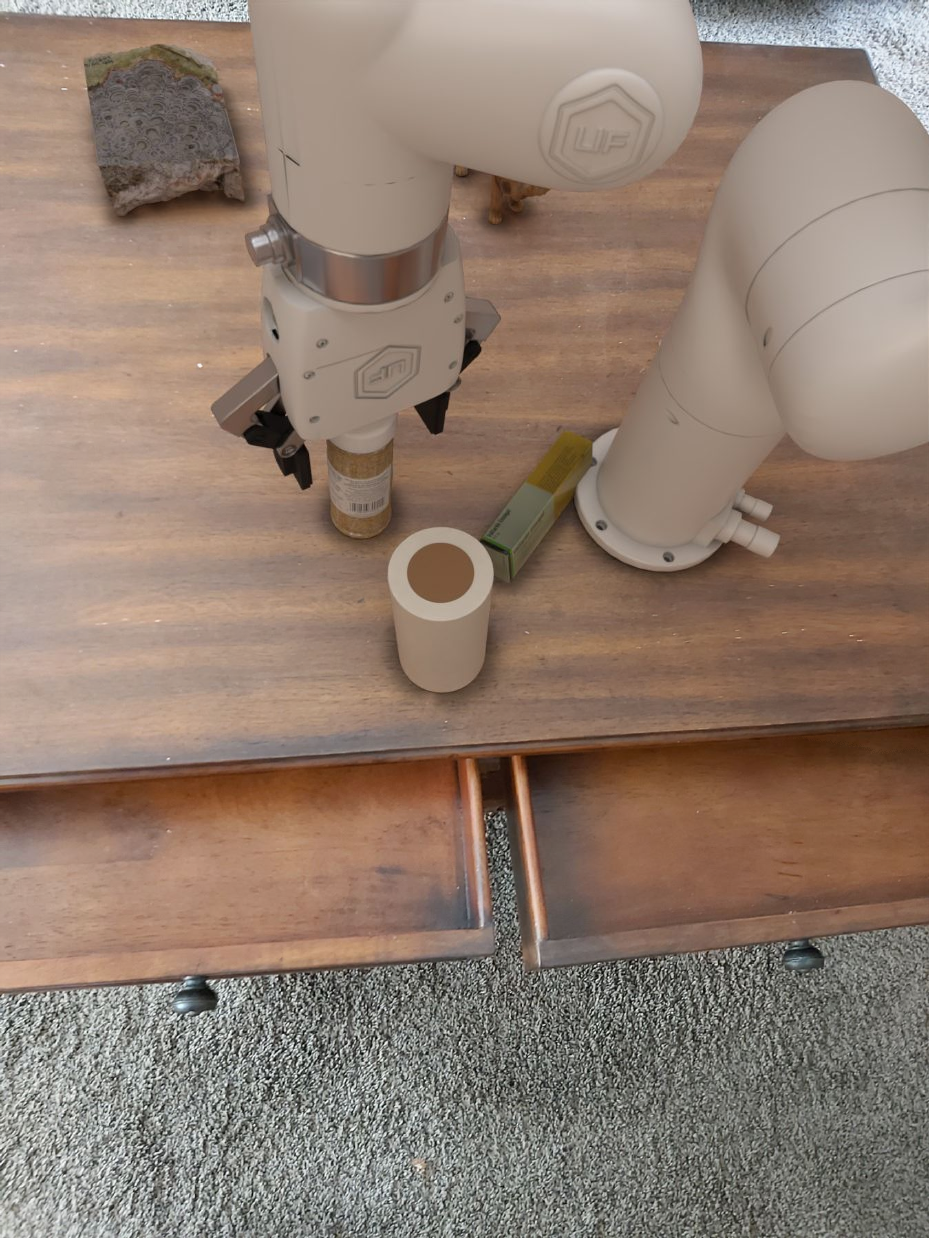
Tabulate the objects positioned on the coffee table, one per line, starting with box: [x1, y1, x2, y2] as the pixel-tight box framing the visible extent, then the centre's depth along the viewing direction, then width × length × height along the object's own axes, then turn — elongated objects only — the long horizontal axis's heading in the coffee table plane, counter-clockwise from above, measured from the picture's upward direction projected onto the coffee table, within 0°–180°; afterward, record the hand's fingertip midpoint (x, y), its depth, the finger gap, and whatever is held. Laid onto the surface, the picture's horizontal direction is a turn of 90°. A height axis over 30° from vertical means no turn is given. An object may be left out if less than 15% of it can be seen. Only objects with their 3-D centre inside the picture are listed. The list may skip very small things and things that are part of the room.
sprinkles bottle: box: [325, 412, 399, 539], centre depth 55 cm, size 5×5×13 cm
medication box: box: [478, 429, 593, 584], centre depth 62 cm, size 12×3×4 cm, turn 146°
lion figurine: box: [454, 165, 551, 225], centre depth 71 cm, size 15×5×9 cm, turn 35°
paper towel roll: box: [387, 526, 495, 693], centre depth 52 cm, size 6×6×12 cm
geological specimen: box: [82, 43, 246, 217], centre depth 70 cm, size 11×6×15 cm
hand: (363, 443), depth 53 cm, fingers open, 8 cm apart
